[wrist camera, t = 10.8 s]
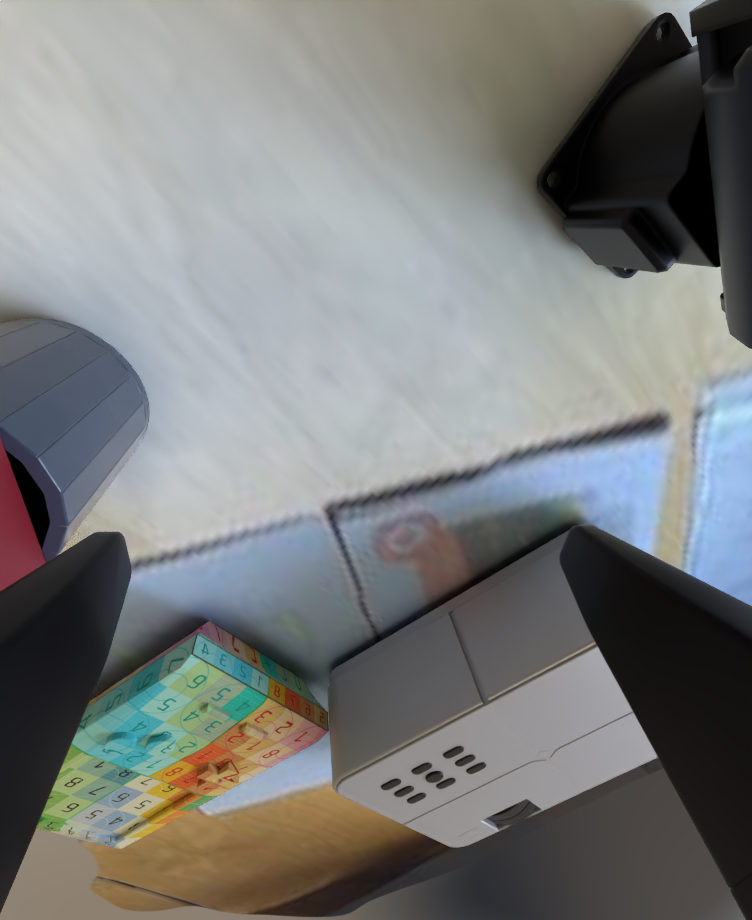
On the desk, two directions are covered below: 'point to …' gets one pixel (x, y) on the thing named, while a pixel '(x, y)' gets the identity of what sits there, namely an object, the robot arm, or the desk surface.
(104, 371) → the mug
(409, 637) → the projector
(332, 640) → the desk surface
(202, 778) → the puzzle game
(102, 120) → the desk surface
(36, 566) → the red rectangular block
